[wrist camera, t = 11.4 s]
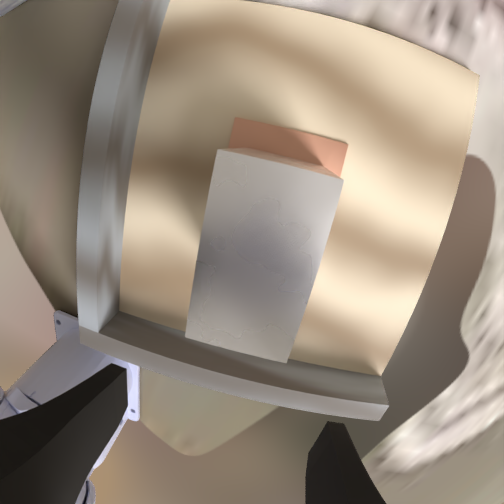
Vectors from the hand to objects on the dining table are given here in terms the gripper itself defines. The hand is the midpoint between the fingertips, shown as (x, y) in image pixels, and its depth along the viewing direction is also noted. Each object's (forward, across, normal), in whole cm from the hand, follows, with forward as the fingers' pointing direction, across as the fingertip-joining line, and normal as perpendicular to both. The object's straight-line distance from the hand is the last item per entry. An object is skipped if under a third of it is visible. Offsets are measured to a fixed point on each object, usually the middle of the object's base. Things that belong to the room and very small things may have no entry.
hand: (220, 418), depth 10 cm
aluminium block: (+9, 0, -5) cm, 11 cm away
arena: (+10, 0, -6) cm, 12 cm away
